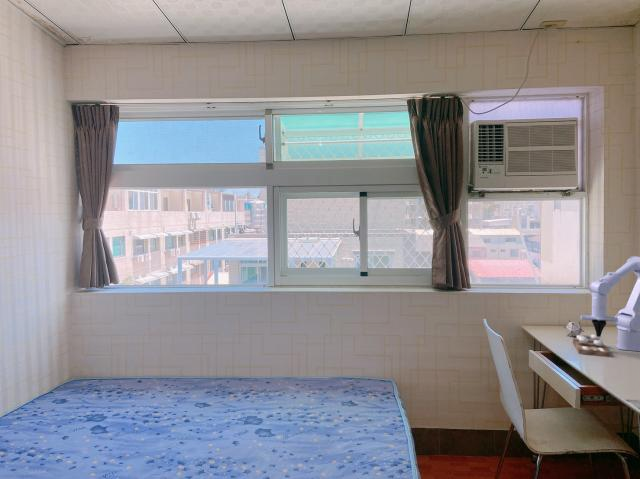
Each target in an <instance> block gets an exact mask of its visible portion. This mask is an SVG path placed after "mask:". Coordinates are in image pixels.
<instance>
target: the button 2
mask: <svg viewBox="0 0 640 479" xmlns="http://www.w3.org/2000/svg"><path fill="white" fill-rule="evenodd" d="M590 340H599V341H601V337H597V336H596V333H595V334H593V333H592V334H590Z"/></svg>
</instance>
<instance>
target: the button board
mask: <svg viewBox="0 0 640 479" xmlns="http://www.w3.org/2000/svg"><path fill="white" fill-rule="evenodd" d="M572 344H573V346H574V347H575V350H576V351H577V353H578V354H579V355H586V356H587V355H588V356H598V357H609V358H610V357H611V352H610V350H609V349H608V347H607V346H606V345H605V344H604V343H603V346H595V345H594V340H593V339H588V342H587V343H583V342H579V340H577V338H573V339H572Z"/></svg>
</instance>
